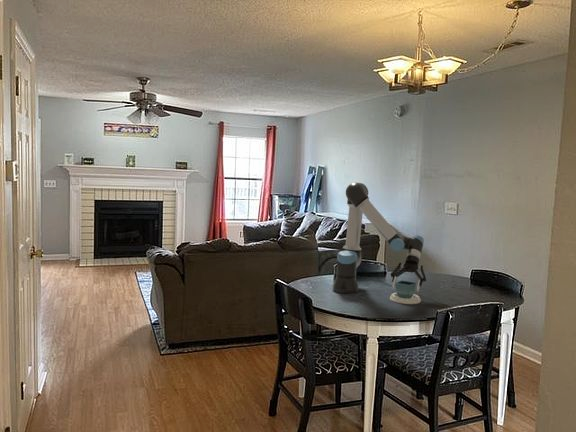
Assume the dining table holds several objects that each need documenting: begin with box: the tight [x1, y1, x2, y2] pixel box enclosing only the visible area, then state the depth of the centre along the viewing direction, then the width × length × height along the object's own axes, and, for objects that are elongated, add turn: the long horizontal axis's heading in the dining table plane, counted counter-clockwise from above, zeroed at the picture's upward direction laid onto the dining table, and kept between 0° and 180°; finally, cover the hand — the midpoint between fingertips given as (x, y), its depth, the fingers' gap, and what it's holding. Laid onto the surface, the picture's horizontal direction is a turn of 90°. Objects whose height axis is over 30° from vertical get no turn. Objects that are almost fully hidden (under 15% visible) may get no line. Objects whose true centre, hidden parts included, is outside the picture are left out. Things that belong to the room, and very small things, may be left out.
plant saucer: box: [389, 292, 422, 305], centre depth 279 cm, size 17×17×2 cm
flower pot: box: [395, 280, 417, 299], centre depth 278 cm, size 9×9×9 cm
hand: (405, 288), depth 277 cm, fingers open, 13 cm apart
